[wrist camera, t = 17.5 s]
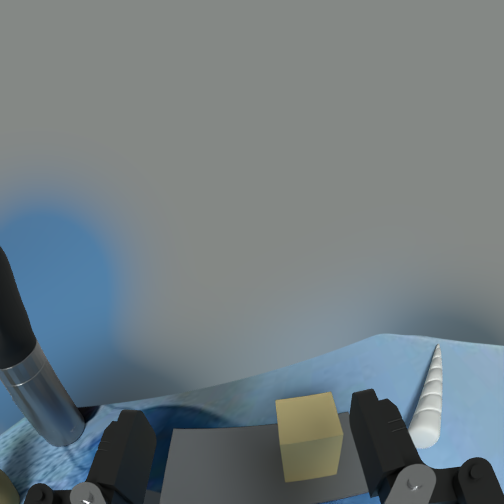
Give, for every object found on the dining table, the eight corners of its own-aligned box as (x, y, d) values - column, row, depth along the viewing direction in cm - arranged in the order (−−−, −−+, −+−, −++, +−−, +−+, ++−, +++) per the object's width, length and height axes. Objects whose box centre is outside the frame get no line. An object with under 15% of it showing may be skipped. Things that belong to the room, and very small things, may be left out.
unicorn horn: (455, 348, 45) (461, 328, 43) (431, 453, 28) (441, 435, 26) (433, 345, 48) (438, 324, 46) (400, 447, 31) (408, 428, 29)
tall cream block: (285, 482, 29) (279, 444, 25) (281, 444, 35) (275, 400, 31) (336, 474, 29) (343, 434, 25) (327, 437, 35) (331, 391, 31)
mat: (160, 507, 26) (158, 506, 26) (174, 430, 39) (173, 428, 39) (371, 491, 25) (372, 490, 25) (347, 413, 38) (348, 411, 38)
